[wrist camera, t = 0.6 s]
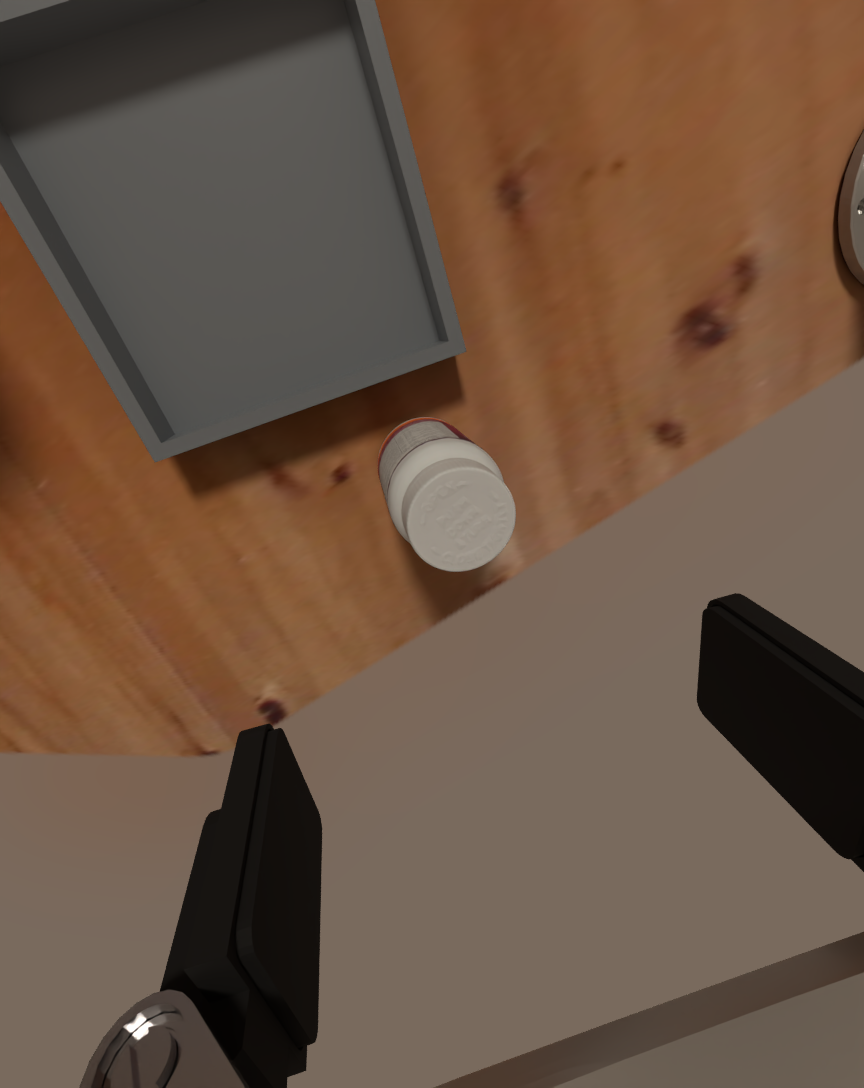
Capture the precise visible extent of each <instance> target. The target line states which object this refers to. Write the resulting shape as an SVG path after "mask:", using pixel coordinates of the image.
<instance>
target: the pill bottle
mask: <svg viewBox="0 0 864 1088" xmlns="http://www.w3.org/2000/svg"><path fill="white" fill-rule="evenodd" d="M378 475H379V479H380V482H381V485H382V489H383V492H384V495H385V499H386V502H387V505H388V509H389V512H390V516H391V518H392V521H393V523H394V525H395V527H396V529H397V530H398V532H399V533H400V534H401V535H402V537H403V538H404V539H405V540H406V541H408V542H409V543H410V544H411V545H412V547H413V549H414V550H415V552H416V553H417V554H418V555H419V557H420V558H421V559H423V560H424V561H425V562H426V563H428V564H429V565H431V566H433V567H435V568H438V569H441V570H445V571H450V572H462V571H468V570H472V569H476V568H478V567H481V566H483V565H485V564H486V563H488V562H490V561H491V560H493V559H494V558H495V557H496V556H497V555H498V554H499V553H500V552H501V551H502V550H503V549H504V547H505V546H506V545H507V543H508V541H509V539H510V537H511V535H512V533H513V530H514V526H515V519H516V510H515V504H514V500H513V497H512V495H511V493H510V491H509V489H508V487H507V486H506V485H505V484H504V481H503V477H502V475H501V472H500V470H499V468H498V466H497V465H496V463H495V462H494V460H493V459H492V458H491V457H490V456H489V455H488V453H486V452H485V451H484V450H483V449H482V448H480V447H479V446H477V445H476V444H475V443H473V442H472V441H471V440H470V439H468V438H467V437H466V436H464V435H463V434H462V433H461V432H460V431H458V430H457V429H456V428H455V427H453V426H452V425H450V424H449V423H447V422H445V421H442V420H440V419H436V418H431V417H420V418H414V419H411V420H408V421H406V422H403V423H402V424H400V425H398V426H397V427H396V428H395V429H393V430H392V431H391V432H390V433H389V435H388V436H387V437H386V439H385V440H384V442H383V444H382V446H381V449H380V452H379V456H378Z"/></svg>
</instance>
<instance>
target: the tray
mask: <svg viewBox="0 0 864 1088" xmlns="http://www.w3.org/2000/svg"><path fill="white" fill-rule="evenodd" d="M0 201H1V203H2V205H3V206H4V208H5V210H6V211H7V213H8V215H9V216H10V218H11V220H12V221H13V223H14V225H15V227H16V228H17V230H18V232H19V233H20V235H21V237H22V238H23V240H24V242H25V243H26V245H27V247H28V248H29V250H30V252H31V254H32V255H33V257H34V259H35V260H36V262H37V264H38V265H39V267H40V269H41V270H42V272H43V274H44V276H45V277H46V279H47V281H48V282H49V284H50V286H51V287H52V289H53V291H54V292H55V294H56V296H57V297H58V299H59V301H60V303H61V304H62V306H63V308H64V309H65V311H66V313H67V314H68V316H69V318H70V319H71V321H72V323H73V325H74V326H75V328H76V330H77V331H78V333H79V335H80V336H81V338H82V340H83V341H84V343H85V345H86V346H87V348H88V350H89V352H90V353H91V355H92V357H93V358H94V360H95V362H96V363H97V365H98V367H99V368H100V370H101V372H102V374H103V375H104V377H105V379H106V380H107V382H108V384H109V385H110V387H111V389H112V390H113V392H114V394H115V395H116V397H117V399H118V401H119V402H120V404H121V406H122V407H123V409H124V411H125V412H126V414H127V416H128V417H129V419H130V421H131V423H132V424H133V426H134V428H135V429H136V431H137V433H138V434H139V436H140V438H141V439H142V441H143V443H144V444H145V446H146V448H147V450H148V451H149V453H150V455H151V456H152V458H153V460H154V461H155V462H157V461H160V460H163V459H166V458H169V457H171V456H174V455H177V454H180V453H183V452H186V451H188V450H191V449H194V448H197V447H200V446H202V445H205V444H208V443H211V442H214V441H216V440H219V439H222V438H225V437H228V436H230V435H233V434H236V433H239V432H242V431H244V430H247V429H250V428H253V427H256V426H259V425H261V424H264V423H267V422H270V421H273V420H275V419H278V418H281V417H284V416H287V415H289V414H292V413H295V412H298V411H301V410H303V409H306V408H309V407H312V406H315V405H317V404H320V403H323V402H326V401H329V400H332V399H334V398H337V397H340V396H343V395H346V394H348V393H351V392H354V391H357V390H360V389H362V388H365V387H368V386H371V385H374V384H376V383H379V382H382V381H385V380H388V379H391V378H393V377H396V376H399V375H402V374H405V373H407V372H410V371H413V370H416V369H419V368H421V367H424V366H427V365H430V364H433V363H435V362H438V361H441V360H444V359H447V358H449V357H452V356H455V355H458V354H461V353H464V352H466V348H465V344H464V340H463V336H462V333H461V329H460V325H459V321H458V317H457V313H456V310H455V306H454V302H453V298H452V294H451V290H450V287H449V283H448V279H447V275H446V271H445V267H444V264H443V260H442V256H441V252H440V248H439V244H438V241H437V237H436V233H435V229H434V225H433V221H432V218H431V214H430V210H429V206H428V202H427V198H426V195H425V191H424V187H423V183H422V179H421V175H420V172H419V168H418V164H417V160H416V156H415V152H414V149H413V145H412V141H411V137H410V133H409V129H408V126H407V122H406V118H405V114H404V110H403V107H402V103H401V99H400V95H399V91H398V87H397V84H396V80H395V76H394V72H393V68H392V64H391V61H390V57H389V53H388V49H387V45H386V41H385V38H384V34H383V30H382V26H381V22H380V18H379V15H378V11H377V7H376V3H375V0H0Z"/></svg>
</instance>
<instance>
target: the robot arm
mask: <svg viewBox="0 0 864 1088" xmlns="http://www.w3.org/2000/svg"><path fill="white" fill-rule="evenodd" d="M838 228H839V240H840V245H841V249H842V253H843V257H844V259H845V261H846V263H847V265H848V267H849V269H850V271H851V272H852V274H853V275H854V276H855V277H856V278H857V279H858V280H859V282H860V283H862V284H864V131H863V133H862V135H861V137H860V139H859V141H858V143H857V145H856V147H855V149H854V151H853V154H852V157H851V160H850V162H849V165H848V168H847V171H846V173H845V178H844V182H843V186H842V190H841V195H840V203H839V213H838ZM697 703H698V706H699V709H700V711H701V712H702V714H703V715H704V716H705V717H706V718H707V719H708V720H709V722H711V724H712V725H713V726H714V727H715V728H716V729H717V730H718V731H719V732H720V733H721V734H722V735H723V736H724V737H725V738H726V739H727V740H728V741H729V742H730V743H731V744H732V745H733V746H734V747H735V748H736V749H737V750H738V751H739V753H740V754H742V756H743V757H744V758H745V759H746V760H747V761H748V762H749V763H750V764H751V765H752V766H753V767H754V768H755V769H756V770H757V771H758V772H759V773H760V774H761V775H762V776H763V777H764V778H765V779H766V780H767V781H768V782H769V783H770V785H771V786H772V787H773V788H774V789H775V790H776V791H777V792H778V793H779V794H780V795H781V796H782V797H783V798H784V799H785V800H786V801H787V802H788V803H789V804H790V805H791V806H792V807H793V808H794V809H795V810H796V811H797V812H798V813H799V814H800V816H802V818H803V819H804V820H805V821H806V822H807V823H808V824H809V825H810V826H811V827H812V828H813V829H814V830H815V831H816V832H817V833H818V834H819V835H820V836H821V837H822V838H823V839H824V840H825V841H826V842H827V843H828V844H829V845H830V846H831V847H832V848H833V849H834V850H835V851H836V852H837V853H838V854H839V855H841V856H842V857H844V858H846V859H851V860H852V861H854V863H855V864H856V865H857V866H858V867H859V868H860V869H861V870H862V871H863V872H864V672H863V671H861V670H859V669H858V668H856V667H854V666H853V665H852V664H850V663H848V662H847V661H845V660H844V659H842V658H840V657H839V656H837V655H836V654H834V653H833V652H831V651H830V650H828V649H827V648H825V647H823V646H822V645H820V644H819V643H817V642H816V641H814V640H812V639H811V638H809V637H808V636H806V635H804V634H803V633H801V632H800V631H798V630H797V629H795V628H794V627H792V626H790V625H789V624H787V623H786V622H784V621H783V620H781V619H780V618H778V617H776V616H775V615H773V614H772V613H770V612H769V611H767V610H766V609H764V608H762V607H761V606H759V605H757V604H756V603H755V602H753V601H751V600H750V599H748V598H747V597H745V596H743V595H741V594H736V593H735V594H732V595H728V596H724V597H721V598H717V599H714V600H711V601H710V602H709V604H708V606H707V609H705V610H704V611H703V615H702V630H701V645H700V660H699V675H698V690H697ZM321 856H322V824H321V818H320V814H319V811H318V809H317V807H316V805H315V802H314V800H313V798H312V795H311V793H310V791H309V788H308V786H307V784H306V782H305V780H304V777H303V775H302V772H301V770H300V768H299V766H298V763H297V761H296V759H295V756H294V754H293V752H292V749H291V747H290V745H289V743H288V740H287V738H286V736H285V733H284V731H283V730H282V729H281V728H278V729H275V730H274V728H273V727H272V725H271V724H265V725H262V726H258V727H255V728H251V729H247V730H244V731H241V732H240V733H239V736H238V739H237V743H236V748H235V752H234V756H233V761H232V765H231V769H230V773H229V777H228V782H227V786H226V790H225V794H224V799H223V803H222V808H221V809H219V810H216V811H213V812H211V813H210V814H209V815H208V816H207V818H206V820H205V823H204V825H203V829H202V833H201V837H200V840H199V844H198V848H197V852H196V856H195V859H194V863H193V867H192V871H191V875H190V879H189V882H188V886H187V890H186V894H185V897H184V901H183V905H182V909H181V913H180V916H179V920H178V924H177V928H176V932H175V936H174V939H173V943H172V947H171V951H170V955H169V958H168V962H167V966H166V970H165V974H164V978H163V981H162V985H161V989H160V992H157V993H153V994H151V995H150V996H148V997H146V998H144V999H142V1000H141V1001H139V1002H137V1003H136V1004H135V1005H134V1006H133V1007H131V1008H130V1009H129V1010H128V1011H127V1012H126V1013H124V1014H123V1015H122V1016H121V1017H120V1018H119V1019H118V1020H117V1021H116V1023H115V1024H114V1025H113V1026H112V1028H111V1029H110V1030H109V1031H108V1032H107V1034H106V1035H105V1036H104V1037H103V1039H102V1041H101V1043H100V1044H99V1046H98V1047H97V1049H96V1051H95V1052H94V1054H93V1056H92V1057H91V1059H90V1061H89V1064H88V1066H87V1069H86V1071H85V1074H84V1076H83V1079H82V1082H81V1084H80V1088H287V1077H289V1076H292V1075H295V1074H298V1073H301V1072H303V1071H306V1058H307V1045H310V1044H312V1043H314V1042H315V1041H316V1038H317V1032H318V999H319V998H318V997H319V954H320V953H319V952H320V907H321V860H322V857H321ZM434 1088H864V932H862V933H860V934H857V935H853V936H851V937H848V938H845V939H842V940H839V941H836V942H834V943H831V944H828V945H825V946H822V947H819V948H817V949H814V950H811V951H808V952H805V953H802V954H800V955H797V956H794V957H791V958H788V959H786V960H783V961H780V962H777V963H774V964H771V965H769V966H766V967H763V968H760V969H757V970H755V971H752V972H749V973H746V974H743V975H741V976H738V977H735V978H733V979H729V980H727V981H724V982H721V983H719V984H716V985H713V986H710V987H707V988H704V989H702V990H699V991H696V992H693V993H690V994H688V995H685V996H682V997H680V998H677V999H674V1000H671V1001H668V1002H665V1003H663V1004H660V1005H657V1006H655V1007H652V1008H649V1009H646V1010H643V1011H640V1012H638V1013H635V1014H632V1015H629V1016H627V1017H624V1018H621V1019H618V1020H616V1021H613V1022H610V1023H607V1024H604V1025H602V1026H599V1027H596V1028H594V1029H591V1030H588V1031H586V1032H583V1033H580V1034H577V1035H574V1036H572V1037H569V1038H566V1039H563V1040H561V1041H558V1042H555V1043H553V1044H550V1045H547V1046H544V1047H542V1048H539V1049H536V1050H533V1051H531V1052H528V1053H525V1054H522V1055H520V1056H517V1057H514V1058H512V1059H509V1060H506V1061H503V1062H501V1063H498V1064H495V1065H493V1066H490V1067H487V1068H484V1069H481V1070H479V1071H476V1072H473V1073H471V1074H468V1075H465V1076H462V1077H460V1078H457V1079H455V1080H452V1081H449V1082H447V1083H444V1084H442V1085H439V1086H437V1087H434Z"/></svg>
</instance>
